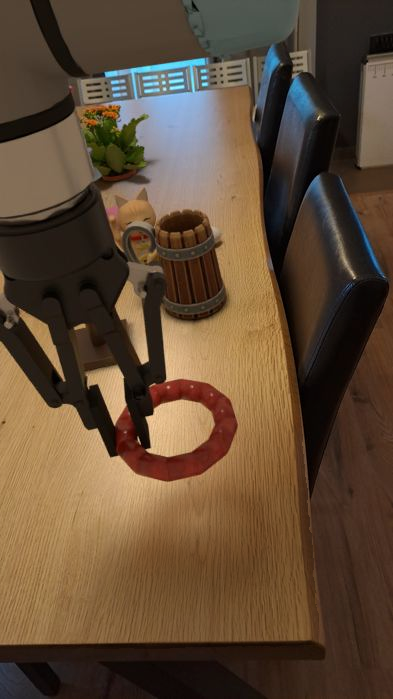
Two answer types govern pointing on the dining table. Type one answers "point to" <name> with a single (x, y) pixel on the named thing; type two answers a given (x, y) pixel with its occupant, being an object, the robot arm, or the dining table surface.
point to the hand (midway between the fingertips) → (129, 440)
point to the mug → (183, 261)
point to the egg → (216, 234)
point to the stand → (95, 347)
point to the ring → (186, 462)
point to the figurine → (131, 213)
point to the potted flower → (112, 143)
